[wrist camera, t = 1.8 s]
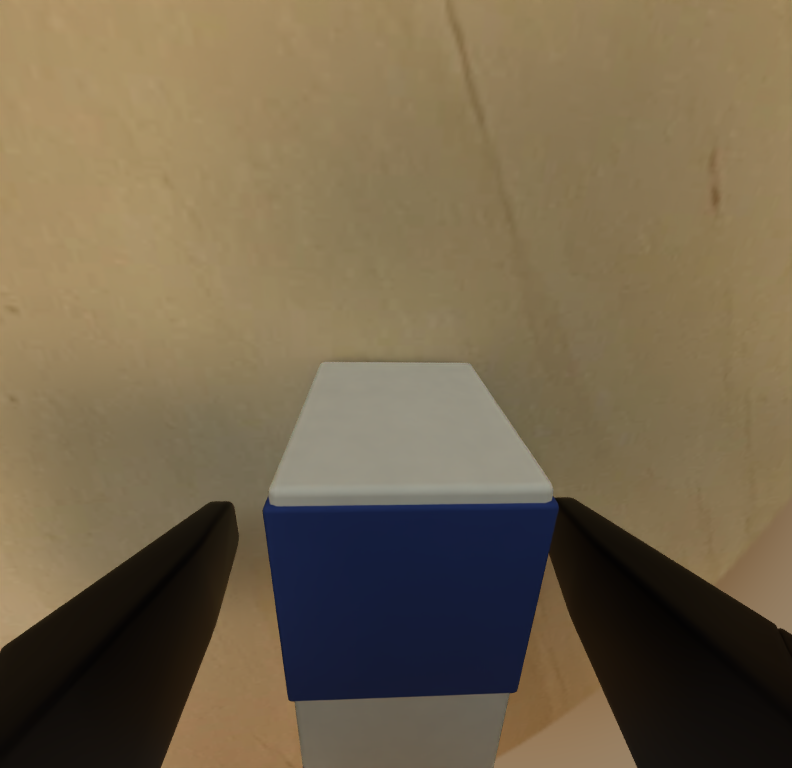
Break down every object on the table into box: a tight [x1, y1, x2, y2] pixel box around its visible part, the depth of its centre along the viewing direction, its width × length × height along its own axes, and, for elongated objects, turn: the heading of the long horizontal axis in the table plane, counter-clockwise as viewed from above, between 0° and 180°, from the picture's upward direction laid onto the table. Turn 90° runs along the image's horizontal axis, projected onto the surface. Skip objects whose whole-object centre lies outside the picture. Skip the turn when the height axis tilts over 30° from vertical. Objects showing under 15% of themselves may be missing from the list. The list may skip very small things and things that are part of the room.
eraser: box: [263, 362, 559, 768], centre depth 7 cm, size 6×3×4 cm, turn 179°
